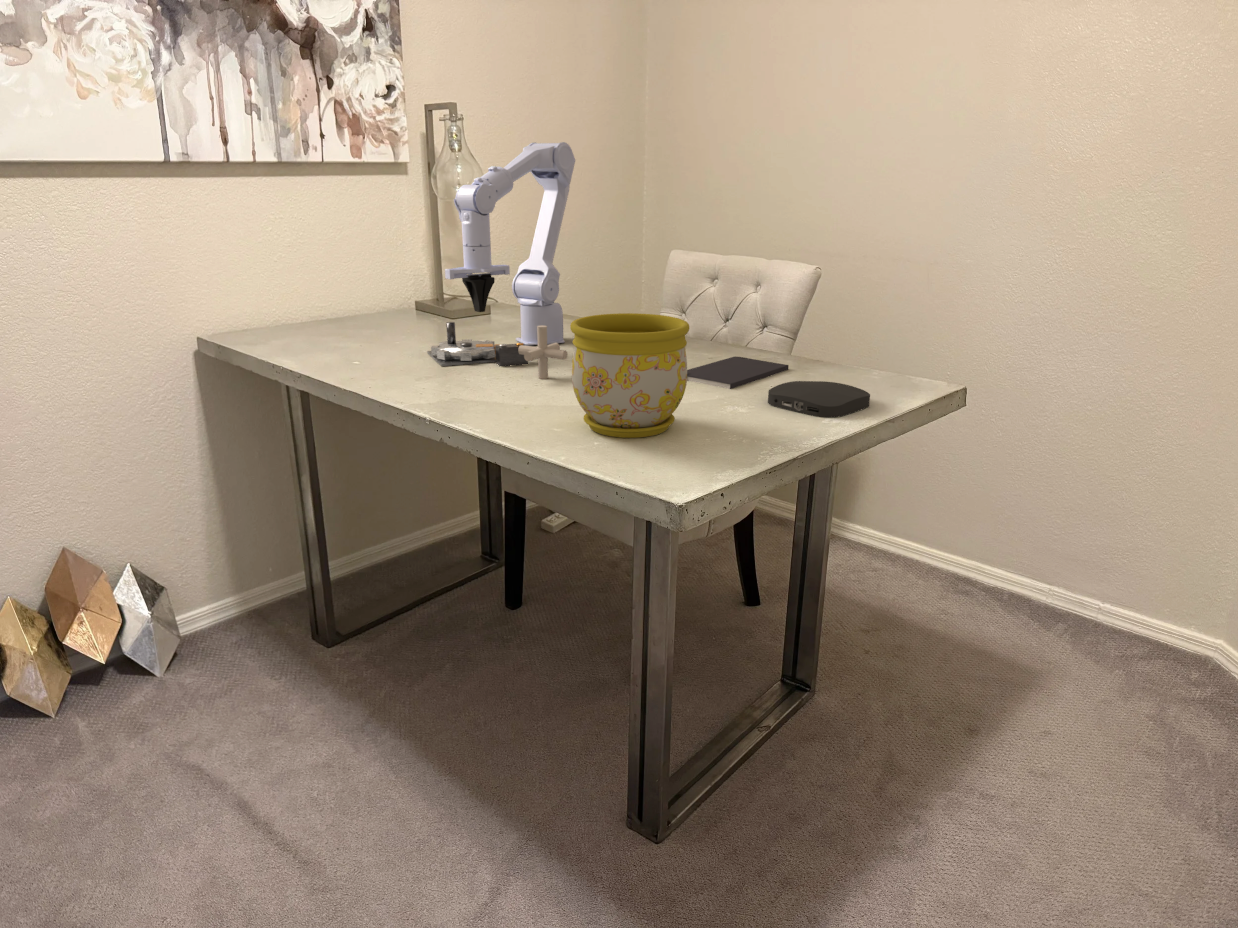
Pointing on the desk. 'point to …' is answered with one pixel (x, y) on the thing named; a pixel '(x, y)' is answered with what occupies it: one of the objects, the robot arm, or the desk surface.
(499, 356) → the two-button control panel
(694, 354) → the desk surface
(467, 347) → the sprocket
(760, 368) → the notebook
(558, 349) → the pipe connector
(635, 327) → the flowerpot
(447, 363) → the plate
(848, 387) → the media streaming box
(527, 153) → the robot arm
